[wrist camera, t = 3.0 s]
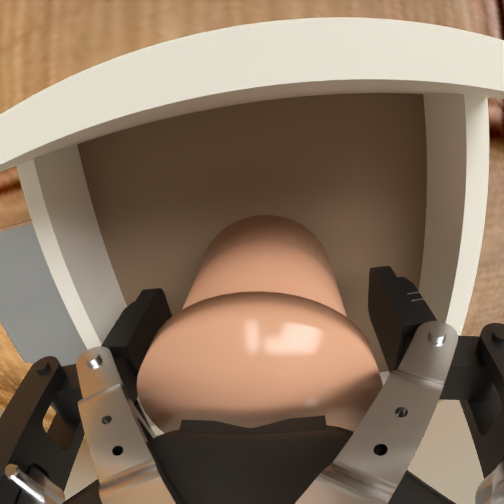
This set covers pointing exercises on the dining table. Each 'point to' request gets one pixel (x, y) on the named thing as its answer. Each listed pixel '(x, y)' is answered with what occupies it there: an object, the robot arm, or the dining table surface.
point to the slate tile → (33, 300)
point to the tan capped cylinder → (260, 337)
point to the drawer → (264, 160)
